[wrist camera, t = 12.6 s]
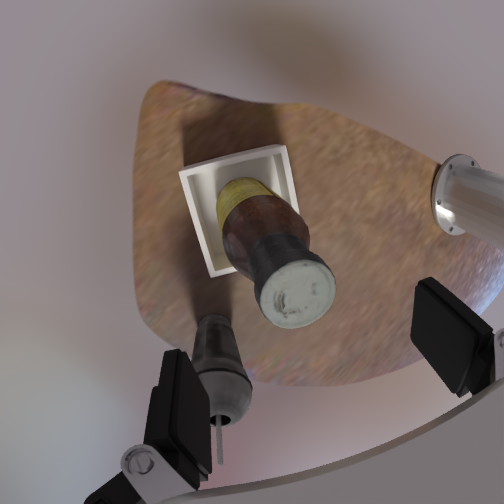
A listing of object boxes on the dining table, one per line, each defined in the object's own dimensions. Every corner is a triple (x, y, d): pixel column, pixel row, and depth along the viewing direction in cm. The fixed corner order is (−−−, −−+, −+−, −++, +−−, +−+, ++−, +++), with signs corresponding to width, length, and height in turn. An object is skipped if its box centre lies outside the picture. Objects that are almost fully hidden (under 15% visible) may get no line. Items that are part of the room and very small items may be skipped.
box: (274, 144, 31) (285, 145, 26) (293, 237, 35) (305, 252, 30) (183, 166, 30) (178, 172, 26) (210, 258, 35) (210, 277, 30)
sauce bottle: (207, 219, 32) (204, 330, 14) (228, 166, 30) (252, 213, 12) (261, 238, 34) (315, 355, 16) (283, 188, 32) (372, 260, 14)
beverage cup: (247, 310, 38) (276, 441, 20) (234, 351, 41) (252, 475, 22) (192, 300, 37) (184, 436, 18) (184, 343, 39) (177, 471, 21)
